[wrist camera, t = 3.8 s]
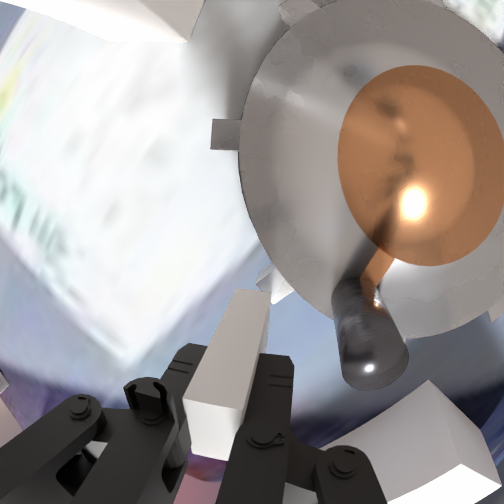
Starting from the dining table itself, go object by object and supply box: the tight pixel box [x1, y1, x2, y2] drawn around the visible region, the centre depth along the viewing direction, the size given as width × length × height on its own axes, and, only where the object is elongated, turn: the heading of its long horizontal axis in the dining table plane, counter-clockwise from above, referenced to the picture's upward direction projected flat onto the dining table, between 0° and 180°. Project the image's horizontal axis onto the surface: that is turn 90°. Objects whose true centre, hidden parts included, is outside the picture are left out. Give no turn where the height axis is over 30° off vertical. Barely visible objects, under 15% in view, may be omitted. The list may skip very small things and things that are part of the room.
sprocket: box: [210, 0, 504, 390], centre depth 9 cm, size 20×20×7 cm
